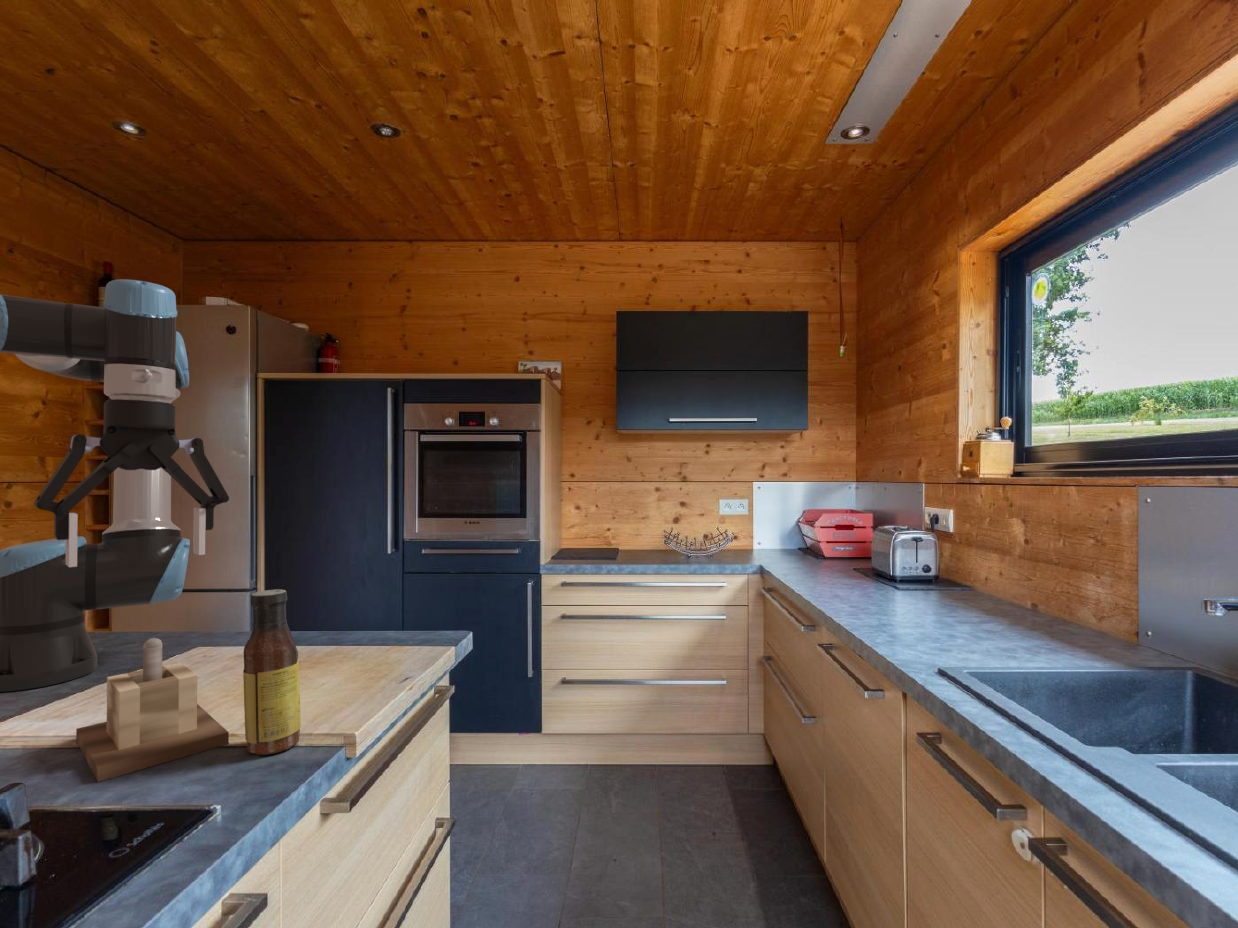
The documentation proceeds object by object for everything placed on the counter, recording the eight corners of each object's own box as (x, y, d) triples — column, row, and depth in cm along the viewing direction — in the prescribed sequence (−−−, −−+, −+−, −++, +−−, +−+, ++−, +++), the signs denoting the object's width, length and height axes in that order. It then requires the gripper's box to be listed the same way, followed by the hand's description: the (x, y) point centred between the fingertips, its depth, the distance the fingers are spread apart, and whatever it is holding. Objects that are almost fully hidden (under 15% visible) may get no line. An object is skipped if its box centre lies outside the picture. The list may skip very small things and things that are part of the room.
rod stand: (76, 740, 80) (77, 637, 80) (193, 710, 90) (194, 619, 90) (97, 781, 69) (99, 662, 69) (228, 743, 79) (229, 639, 79)
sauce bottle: (310, 736, 81) (311, 587, 81) (280, 758, 75) (281, 597, 75) (264, 734, 82) (265, 586, 82) (230, 756, 75) (231, 596, 76)
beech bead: (106, 730, 79) (107, 677, 79) (180, 712, 85) (180, 662, 85) (118, 749, 74) (119, 692, 74) (196, 728, 80) (197, 675, 80)
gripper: (11, 389, 69) (10, 575, 69) (254, 406, 88) (252, 552, 88) (5, 393, 74) (4, 567, 74) (236, 408, 93) (235, 546, 93)
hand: (139, 559), depth 81 cm, fingers open, 13 cm apart
